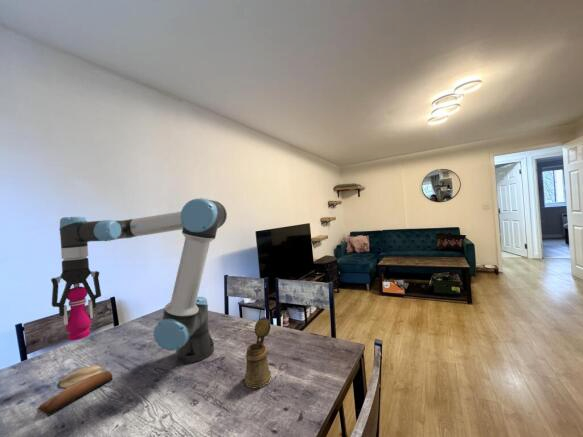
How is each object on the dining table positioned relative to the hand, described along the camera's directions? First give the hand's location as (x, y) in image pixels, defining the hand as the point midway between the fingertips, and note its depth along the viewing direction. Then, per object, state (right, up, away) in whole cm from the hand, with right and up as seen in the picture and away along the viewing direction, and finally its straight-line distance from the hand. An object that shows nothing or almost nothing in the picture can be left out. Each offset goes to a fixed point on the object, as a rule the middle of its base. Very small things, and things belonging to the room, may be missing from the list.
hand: (78, 320), depth 93 cm
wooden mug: (+68, -17, -5) cm, 70 cm away
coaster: (+1, -21, 0) cm, 21 cm away
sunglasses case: (+8, -21, -10) cm, 24 cm away
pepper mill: (0, -6, 0) cm, 6 cm away
